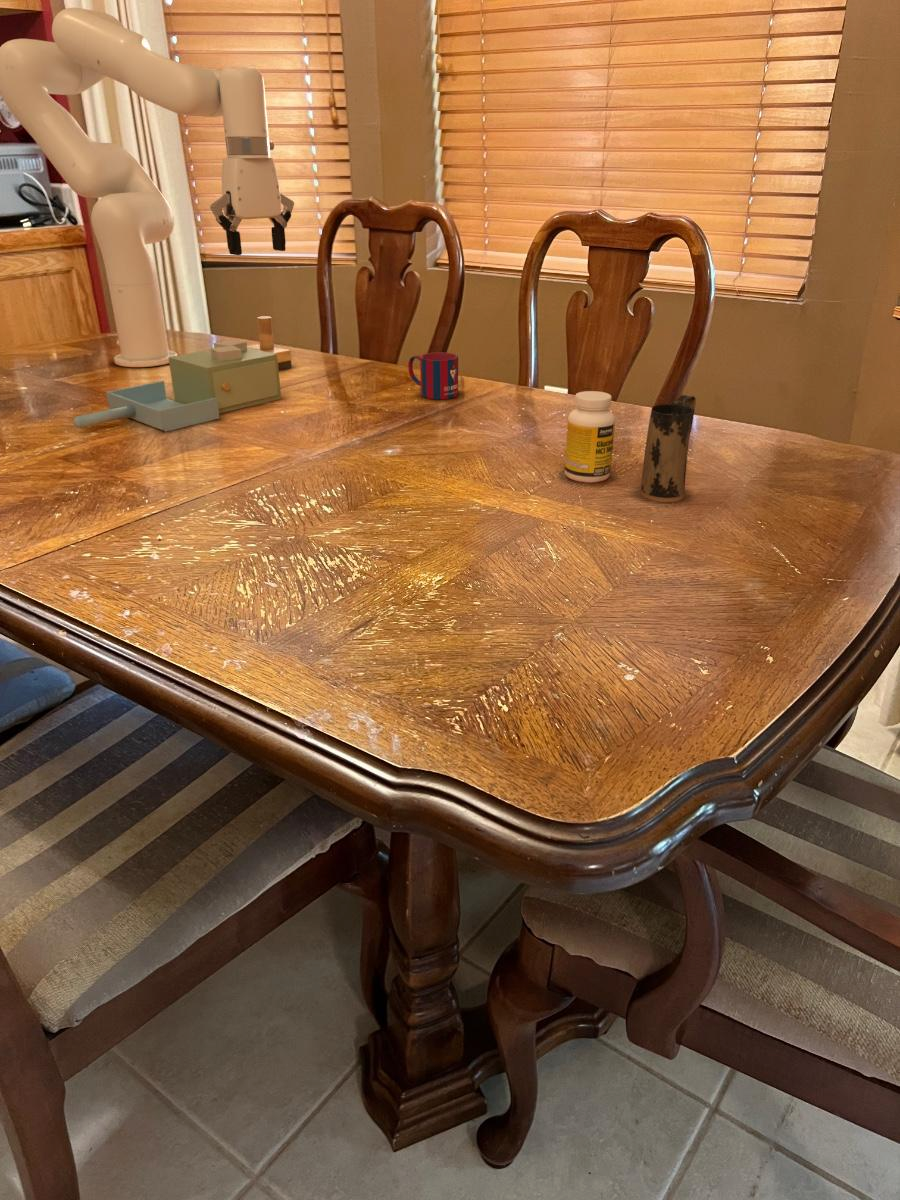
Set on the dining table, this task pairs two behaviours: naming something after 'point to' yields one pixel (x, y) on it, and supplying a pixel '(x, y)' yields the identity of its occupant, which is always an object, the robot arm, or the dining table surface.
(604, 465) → the pill bottle
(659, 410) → the mug
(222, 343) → the felt
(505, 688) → the dining table surface
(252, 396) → the cabinet
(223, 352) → the felt
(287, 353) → the tan two-tone stamp part
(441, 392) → the cup
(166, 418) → the dustpan
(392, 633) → the dining table surface
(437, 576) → the dining table surface
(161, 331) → the robot arm
